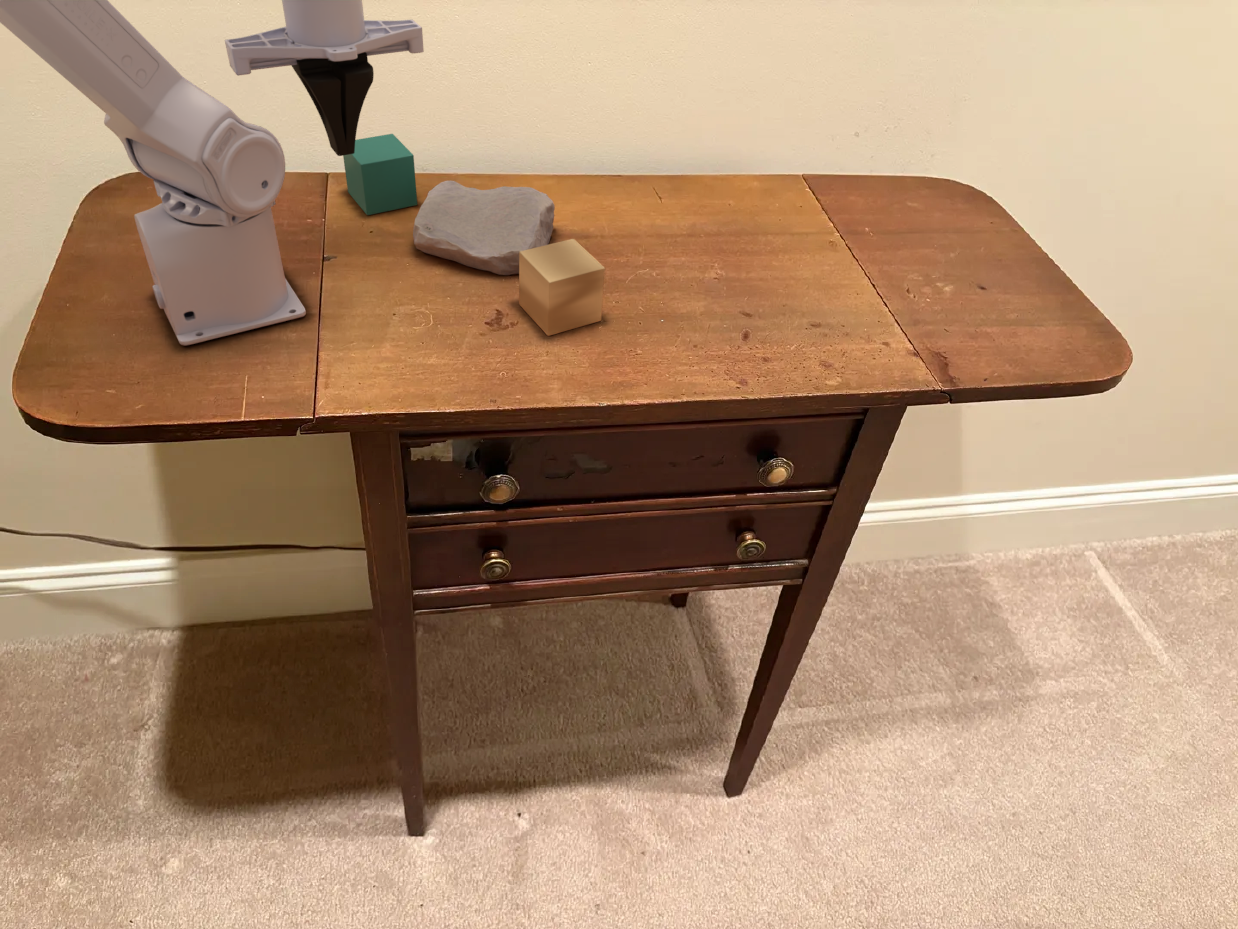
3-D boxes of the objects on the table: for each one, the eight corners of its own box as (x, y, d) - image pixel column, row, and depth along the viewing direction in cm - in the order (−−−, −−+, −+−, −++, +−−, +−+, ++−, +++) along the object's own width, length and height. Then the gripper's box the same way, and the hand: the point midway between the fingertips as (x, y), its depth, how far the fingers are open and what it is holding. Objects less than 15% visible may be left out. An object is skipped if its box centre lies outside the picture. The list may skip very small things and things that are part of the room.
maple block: (547, 336, 73) (549, 282, 70) (518, 304, 76) (519, 251, 73) (601, 320, 75) (605, 267, 72) (571, 290, 78) (573, 237, 75)
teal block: (367, 215, 85) (360, 164, 81) (347, 192, 88) (341, 141, 84) (417, 205, 87) (413, 154, 84) (397, 182, 90) (392, 132, 87)
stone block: (541, 296, 80) (558, 221, 86) (539, 254, 76) (556, 178, 82) (408, 284, 81) (434, 210, 87) (398, 241, 77) (426, 167, 83)
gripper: (229, -5, 61) (267, 186, 70) (434, -23, 67) (444, 155, 76) (203, -36, 65) (242, 148, 74) (398, -50, 71) (411, 121, 81)
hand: (342, 149), depth 76 cm, fingers closed
